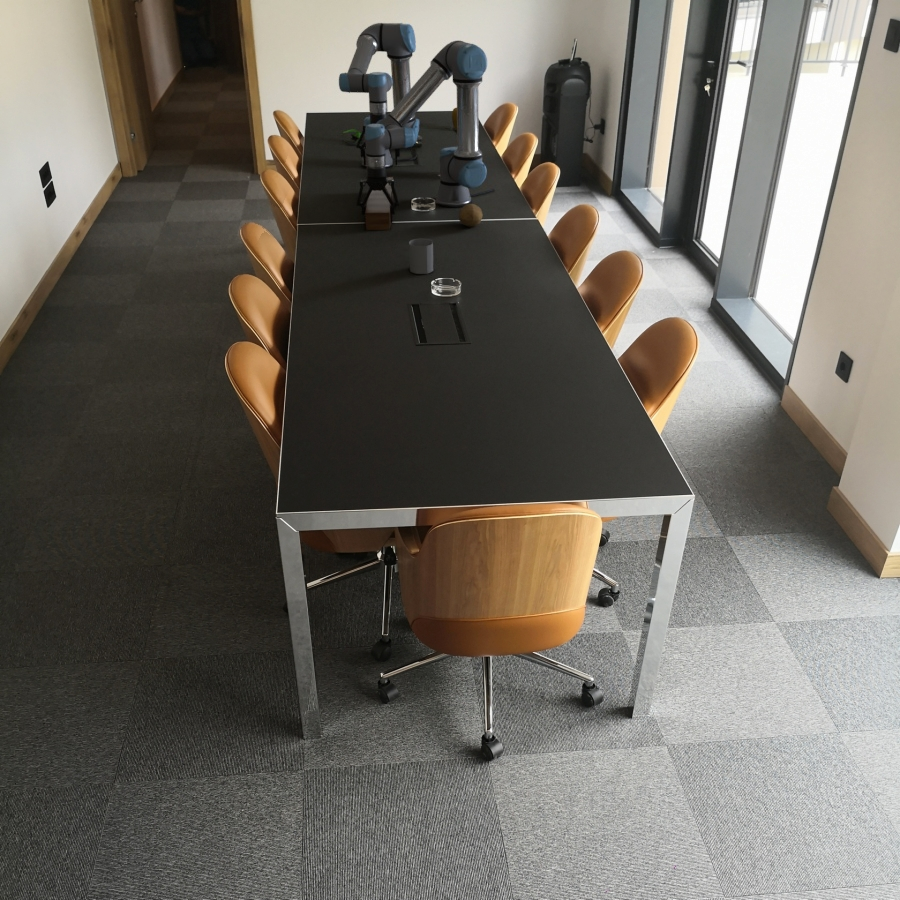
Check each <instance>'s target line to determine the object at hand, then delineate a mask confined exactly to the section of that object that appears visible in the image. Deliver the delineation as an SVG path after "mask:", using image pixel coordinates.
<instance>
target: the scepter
mask: <svg viewBox="0 0 900 900" xmlns="http://www.w3.org/2000/svg"><path fill="white" fill-rule="evenodd" d="M349 132H355V133H351V134H350V136H351V137H350V140H352V141H355V142H351V141H347V140H345V139H341V141H342V142H344V143H346V144H348V145H354V146H356V145H357V142H358V140H359V138H360V135H361V133H362V131H360V130H359V129H355V128H354V129H353V128H351V129H347V130H345V131H342V134H345V133H349ZM363 142H364V136H363V138H362V141H361V143H363Z"/></svg>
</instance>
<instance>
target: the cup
mask: <svg viewBox="0 0 900 900" xmlns="http://www.w3.org/2000/svg"><path fill="white" fill-rule="evenodd" d="M408 253H409V272H411V273H412V274H416V275H426V274H430V273H432V272H434V241H433V240H431V239H428V238H422V237H421V238H420V237H419V238H414V239H411V240H410V241H409V242H408Z"/></svg>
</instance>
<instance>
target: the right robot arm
mask: <svg viewBox="0 0 900 900" xmlns="http://www.w3.org/2000/svg"><path fill="white" fill-rule="evenodd" d="M429 63H430V66H429V67H428V68H427V70H425V72H424V73H423V74H422V75H421V76H420V78H418V80H417V81H416V82H415V83H414V84H413V86H412V87H411V89H410V90H409V92H408V93H407V94H406V95H405V96H404V97H403V99H402V100H401V101H400V102H399V103H398V105H397V106H396V107H395V108H394V107H393V108H392V110H391V111H390V113H388V116H387V117H386V118H385V119H382V120H379V121H378V122H377V123H376V124H369V125H367V126H366V128H365V141H366V160H367V166H368V167H367V168H366V179H359V190H358V191H359V192H358V196H357V201H356V206H357V207H359V206H360V208H361V209H360V210H361V215H362V216H365V212H366V206H367V200H368V198H369V196H370V194H371V192H372V190H373V191H376V190H378V191H381V190H382V191H383V193H384V194H385V196H386V197H387V199H388V201H389V202H390V204H391V205H390V223H391V224H393V216H394V215H395V214H396V207H397V206H399V205H400V199H399V197H398V193H397V189H396V186H395V179H394V178H393V179H392V180H388V179H387V177H388V176H387V168H386V167H385V165H386V153H385V151H386V150H388V149H389V150H395V149H398V148H400V149H407V148H412V147H413V146H414V143H415V134H414V131H413V129H412V128H411V127H404V126H405V125H406V124H407V122H408V121H409V120H410V119H411V118H412V117H413V115H414V114H415V115H416V113H418V111H419V110H420V109H421V108H422V106H423V105H424V104H425V103H426V102H427V101H428V100H429V99H430V97H431V96H433V94H434V92H436V91H437V89H438V88H439V87H440V86H441V85H442V83H443V82H444V81H449V79H450V78H451V77H452V83H453V84H454V85H455V87H456V108H457V130H456V133H457V134H456V137H457V138H456V140H457V141H456V142H457V144H456V146H448V147H444V148H441V150H440V152H439V175H440V176H439V186H438V190H437V195H436V196H435V204H437V205H439V206H441V207H446V208H462V207H463V206H464V205H467V204H472V197H478V196H481V195H484V194H485V195H486V194H488V193H492V192H495V188H491V189H488V190H484V191H481V192H478V193H470V189H476V188H478V187H480V186H481V185H482V184H483V183H484V181H485V180H486V178H487V175H488V174H487V173H488V171H487V165H485V163H484V162H483V151H482V150H481V149H480V148H479V87H480V85H481V83H482V82H483V76H484V73H486V71H487V67H488V58H487V54H486V53H485V51H484V50H483V49H482V48H481V47H479V46H478V45H476V44H474V43H471V42H466V41H463V40H453V41H451V42H449V43H447V44H446V45H445V46H443V47H442V49H440V50H439V51H438V53H437V54H435V56H434V57H433V58H432V59H431V61H429ZM415 144H416V143H415ZM387 183H389V185H390V186H391V189H392V192H393V200H392V198H391V196H390V194H389V193H388V191H387V189H386V187H385V186H386V184H387ZM366 184H367V186H368V187H369V188H368V190H367V192H366V194H365V196H364V198H363V200H362V201H361V199H362V196H363V191H364V187H365V186H366ZM364 224H365V225H366V218H365V217H364Z"/></svg>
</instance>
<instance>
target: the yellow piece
mask: <svg viewBox="0 0 900 900" xmlns="http://www.w3.org/2000/svg"><path fill="white" fill-rule="evenodd" d="M451 121H452V125H453V128H454V129H455V131H457V107H454V108H452V111H451Z"/></svg>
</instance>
